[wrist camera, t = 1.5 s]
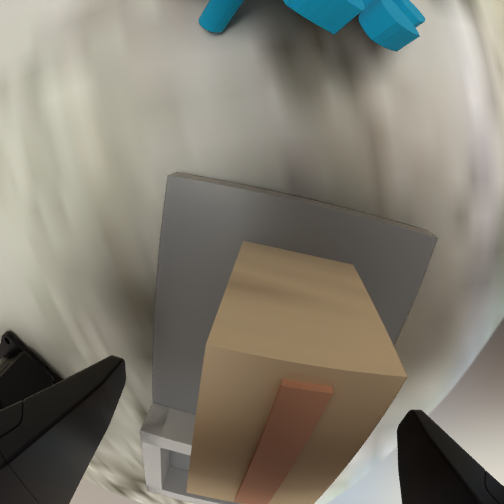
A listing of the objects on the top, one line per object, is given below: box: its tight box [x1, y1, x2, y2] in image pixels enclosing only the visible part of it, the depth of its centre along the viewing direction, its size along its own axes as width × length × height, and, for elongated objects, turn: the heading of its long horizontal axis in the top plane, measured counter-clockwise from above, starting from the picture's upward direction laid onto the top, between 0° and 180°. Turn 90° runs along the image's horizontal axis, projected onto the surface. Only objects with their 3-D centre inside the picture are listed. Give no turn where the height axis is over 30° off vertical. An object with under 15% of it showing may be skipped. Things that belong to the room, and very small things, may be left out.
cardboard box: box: [186, 241, 407, 504], centre depth 9 cm, size 6×4×6 cm, turn 169°
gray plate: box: [140, 172, 438, 504], centre depth 14 cm, size 20×10×3 cm, turn 169°
